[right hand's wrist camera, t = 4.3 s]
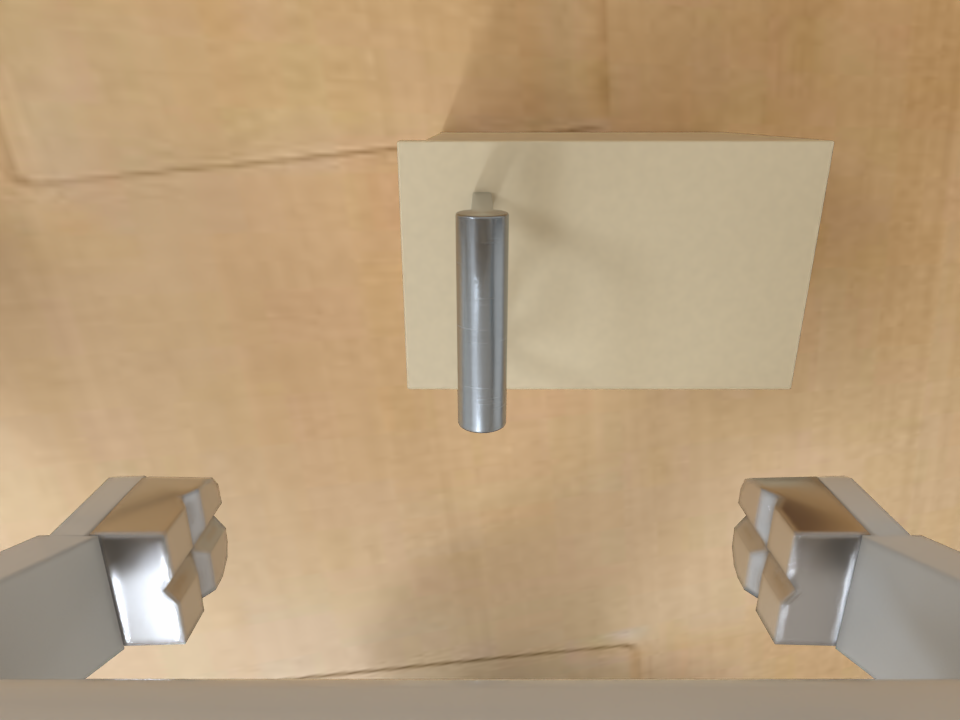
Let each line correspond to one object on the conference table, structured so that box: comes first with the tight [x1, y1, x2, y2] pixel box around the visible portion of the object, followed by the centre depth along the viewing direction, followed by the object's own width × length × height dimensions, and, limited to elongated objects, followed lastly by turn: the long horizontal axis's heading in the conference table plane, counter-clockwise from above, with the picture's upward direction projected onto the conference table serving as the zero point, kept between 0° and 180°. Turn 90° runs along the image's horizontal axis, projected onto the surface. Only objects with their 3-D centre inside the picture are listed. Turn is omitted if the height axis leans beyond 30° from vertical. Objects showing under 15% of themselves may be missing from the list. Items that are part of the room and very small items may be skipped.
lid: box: [397, 140, 834, 433], centre depth 23 cm, size 16×10×8 cm, turn 90°
